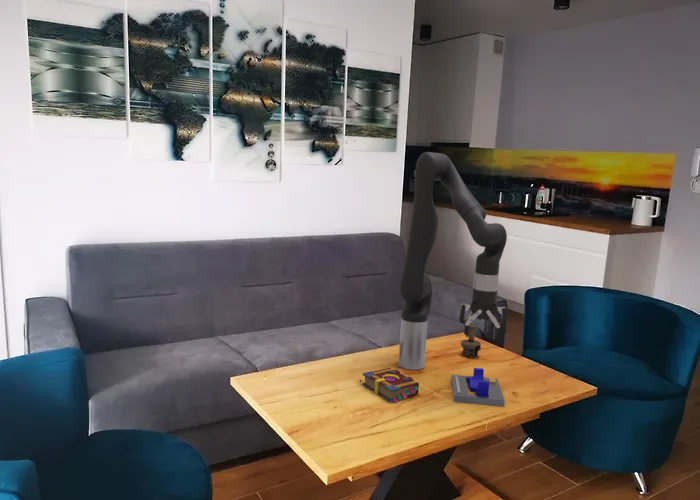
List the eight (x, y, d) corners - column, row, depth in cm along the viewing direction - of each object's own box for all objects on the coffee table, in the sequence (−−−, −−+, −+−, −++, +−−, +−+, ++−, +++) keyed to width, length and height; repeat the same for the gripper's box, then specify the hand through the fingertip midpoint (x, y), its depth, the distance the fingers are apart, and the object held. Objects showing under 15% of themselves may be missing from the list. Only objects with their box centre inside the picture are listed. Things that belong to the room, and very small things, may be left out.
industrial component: (484, 357, 209) (486, 326, 207) (471, 360, 204) (474, 329, 202) (465, 349, 216) (467, 320, 214) (452, 353, 212) (455, 323, 210)
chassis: (454, 401, 168) (454, 393, 168) (451, 380, 185) (451, 372, 185) (504, 406, 167) (504, 398, 166) (496, 384, 183) (497, 376, 183)
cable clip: (467, 384, 182) (469, 367, 181) (481, 385, 182) (483, 368, 181) (472, 400, 171) (474, 381, 170) (487, 401, 170) (489, 382, 169)
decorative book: (389, 379, 184) (390, 365, 183) (421, 397, 171) (422, 382, 170) (361, 386, 178) (362, 371, 177) (393, 405, 165) (393, 389, 164)
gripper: (462, 288, 168) (458, 339, 170) (510, 292, 166) (505, 343, 169) (461, 283, 175) (457, 332, 178) (507, 286, 173) (502, 335, 176)
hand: (480, 337), depth 173 cm, fingers open, 8 cm apart
